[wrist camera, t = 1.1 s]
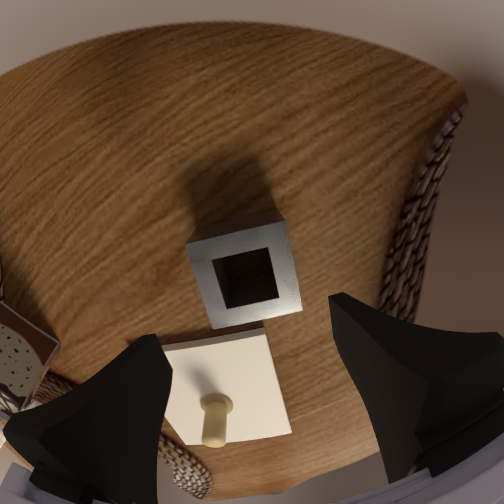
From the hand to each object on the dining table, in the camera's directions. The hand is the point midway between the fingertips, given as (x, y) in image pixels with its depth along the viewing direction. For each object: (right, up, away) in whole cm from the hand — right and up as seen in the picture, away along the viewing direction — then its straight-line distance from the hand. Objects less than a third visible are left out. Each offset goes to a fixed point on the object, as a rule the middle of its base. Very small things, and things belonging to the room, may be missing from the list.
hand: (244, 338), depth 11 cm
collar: (0, +3, +9) cm, 9 cm away
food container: (-24, -6, +12) cm, 28 cm away
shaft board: (-3, -10, +13) cm, 17 cm away
